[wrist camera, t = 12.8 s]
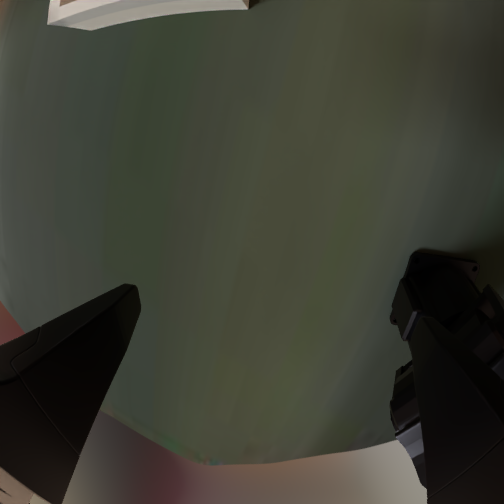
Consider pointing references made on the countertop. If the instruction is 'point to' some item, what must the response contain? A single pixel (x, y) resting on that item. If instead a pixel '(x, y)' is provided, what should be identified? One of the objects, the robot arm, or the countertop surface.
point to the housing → (127, 10)
